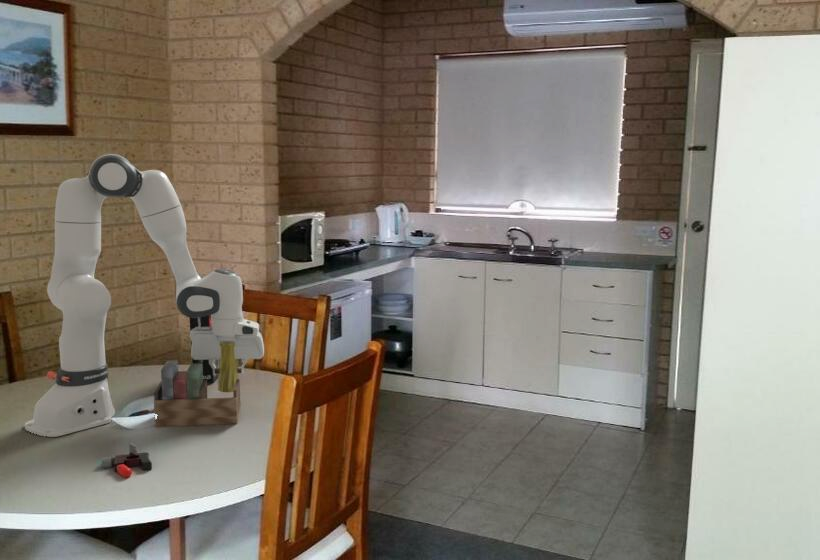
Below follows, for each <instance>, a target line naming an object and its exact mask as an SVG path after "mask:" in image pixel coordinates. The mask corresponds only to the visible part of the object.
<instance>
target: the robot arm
mask: <svg viewBox="0 0 820 560" xmlns="http://www.w3.org/2000/svg"><path fill="white" fill-rule="evenodd" d="M107 198H129V199H131V200H132V201H133V203H134V205H135V207H136V210H137V212H138V215H139V217H140V220H141V222H142V224H143V227H144V228H145V231H146V232H147V234H148V236H149V237H150V238H151V240H152V241H153V242H154V243H155V244H156V245H158V246H159V247H160V248H161V250H162V251H163V253H164V255H165V256H166V258H167V260H168V261H167V262H168V263H169V266H170V269H171V271H172V274H173V277H174V282H175V288H174V289H175V290H174V296H175V300H176V306H177V309H178V311H179V312H180V314H182V315H183V316H184V317H187V318H199V317H204V316H208V315H211V327H195V328H194V329H192V330H191V331H190V330H189V339H190V342H191V341H192V347H191V348H190V350H191V351H190V356H191V359H192V358H193V359H194V360H209V364H210V366H211V367H212V369H213V374H218V368H219V367H216V366H215V364H214V361H215V359H221V346H220V343H233V342H235V346H234V358H235V359H238V360H241V363H242V364H241V366H238V374H239V375H243V374H244V368H245V366H246V364H247V363H248V360H261V359H262V358H263V357H264V355H265V345H264V338H263V336H262V333H261V332H260V324H259V323H258V322H256V321H252V320H249V319H246V318H244V313H243V308H242V307H243V302H244V296H243V295H244V293H243V292H244V291H243V283H242V279H241V277H240V275H239V274H238V273H237V272H235V271H233V270H230V269H229V270H228V269H223V268H221V269H219V268H217V269H214V270H213V271H211V272H210V273H209V274H208V275H205V276H204V277H202V276H201V275H200V274H199V273H198V270H197V268H196V267H195V264H194V261H193V259H192V256H191V253H190V251H189V247H188V243H187V231H188V229H187V223H186V217H185V213H184V210H183V207H182V204H181V202H180V199H179V196H178V194H177V193H176V189H175V188H174V186H173V185H172V183H171V181H170V179H169V177H168V176H167V174H166V173H164V172H163V171H161V170H160V169H159V170H157V169H148V170H144V171H140V170H139V169H137V168H136V167H135V166H134V165H133V164H132V163H131V161H129V160H128V159H127V158H126V157H125V156H122V155H120V154H117V153H105V154H103V155H100V156H98V157H97V158H96V159H95V160H93V162H92V164H91V166H90V168H89V170H88V172H87V174H86V175H85V177H79V178H78V177H77V178H76V177H75V178H69V179H67V180H64V181H62V182H61V184H60V185H59V186H58V190H57V194H56V200H55V207H54V208H55V209H54V256H53V261H52V268H51V272H50V278H49V279H50V280H49V281H48V283H47V289H46V290H47V291H46V292H47V296H48V298H49V300H50V302H51V303H52V305H53V306H54V307H56V308H57V309H59V310H60V311H61V312H62V327H61V333H60V336H59V338H58V346H59V348H58V349H59V360H60V367H59V369H58V373H57V372H56V371H52V370H50V371H47V373H46V378H48V379H49V380H53V381H54V380H55V384H53V385H52V387H51V388H50V389H49V390H47V392H46V393H45V394H44V395H42V396H41V398H40V399H39V400H38V401H36V403H35V405H34V410H33V418H32V419H31V420H28V421H26V422H24V430H26V431H27V432H28V431H29V433H30V432H31V434H33V433H34V434H33V435H36V434H37V435H36V436H41V437H46V436H47V437H48V438H49V437H50V438H56V437H60V436H64V435H67V434H72V433H77V432H79V431H83V430H87V429H91V428H95V427H99V426H102V425H106V424H109V423H111V422H112V421H111V419H112V418H113V417H114V416H115V414H116V410H115V407H114V405H113V403H112V402H113V401H112V399H111V393H110V389H109V383H108V380H109V367H108V363H107V361H106V348H105V330H106V322H107V315H108V312H109V310H110V309H111V306H112V295H111V293H110V291H109V289H108V288H107V287H106V285H104V283H103V282H102V281H100V280H99V279H97V278H95V272H96V267H97V263H98V259H99V256H100V254H101V252H102V206H103V203H104V201H105V200H106V199H107ZM193 330H196V331H193ZM211 330H212V332H211ZM111 417H112V418H111Z"/></svg>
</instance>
